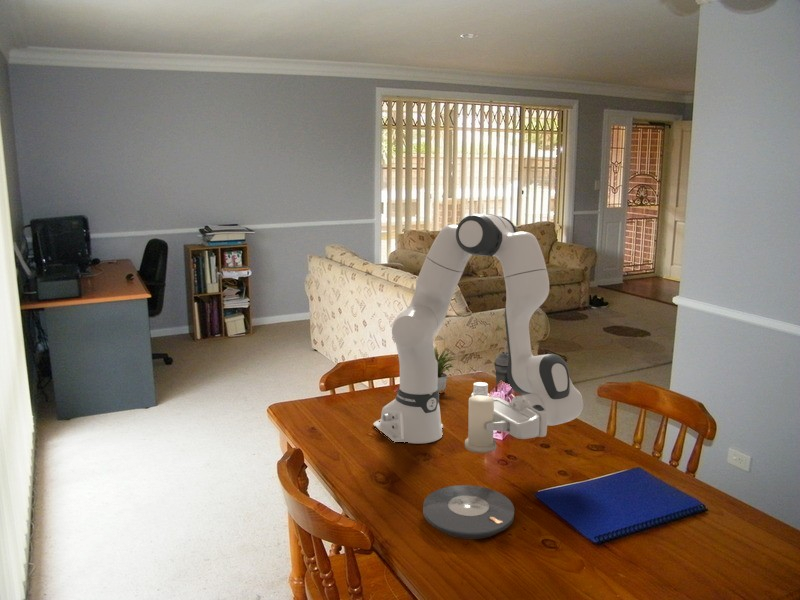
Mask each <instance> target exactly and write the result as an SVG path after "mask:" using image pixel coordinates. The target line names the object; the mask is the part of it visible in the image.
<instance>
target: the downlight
mask: <svg viewBox="0 0 800 600" xmlns="http://www.w3.org/2000/svg"><path fill="white" fill-rule="evenodd" d="M472 386H473V387H472V388H473V391H472V393H471V394H470V397H472V396H476V395H484V396H488V395H489V394H490V393H489V388H488V387H489V384H488V383H487V382H484V381H483V382H482V381H478V382H474V383H473V385H472Z"/></svg>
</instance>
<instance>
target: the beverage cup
mask: <svg viewBox="0 0 800 600" xmlns="http://www.w3.org/2000/svg"><path fill="white" fill-rule="evenodd" d="M493 364H494V370H495V379H496V380H495V384H496V386H497V384H498V383H499V381H500V380H502V381H503V382H505V383H508V384H509V382H508V379H507V367H508V351H507V340H504V351H503V352H499V353H498V354H497V356H496V357H495V360H494V363H493Z"/></svg>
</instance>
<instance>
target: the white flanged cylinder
mask: <svg viewBox="0 0 800 600" xmlns="http://www.w3.org/2000/svg"><path fill="white" fill-rule="evenodd" d="M492 397H493V396H490V397H489V396H484V395H476V396H472V397H471V396H470V397H469V398H468V413H469V418H468V420H467V421H468V426H467V427H468V430H467V435H468V436H467V438H466V439H464V448H465V449H466V450H467V451H469V452H472V453H476V454H489V453H492V452H495V450H497V440H496V439H494V430H493V431H488V430H486V429H485V422H489V421H492V422H494V399H493V398H492Z"/></svg>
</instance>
